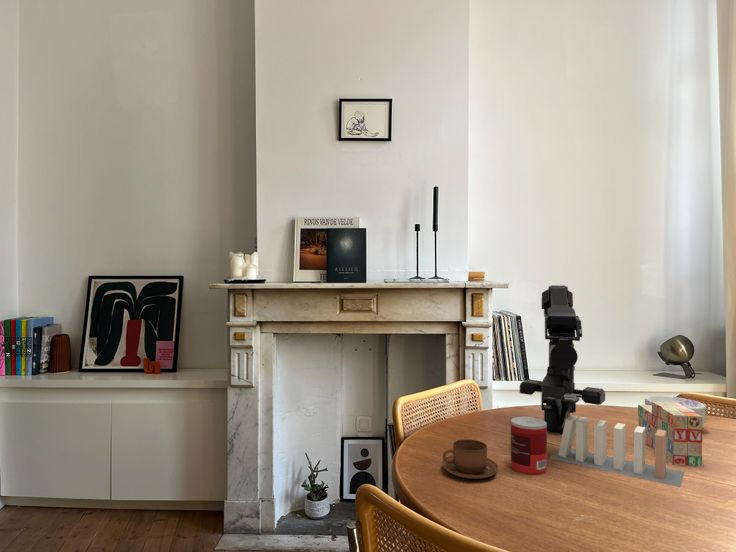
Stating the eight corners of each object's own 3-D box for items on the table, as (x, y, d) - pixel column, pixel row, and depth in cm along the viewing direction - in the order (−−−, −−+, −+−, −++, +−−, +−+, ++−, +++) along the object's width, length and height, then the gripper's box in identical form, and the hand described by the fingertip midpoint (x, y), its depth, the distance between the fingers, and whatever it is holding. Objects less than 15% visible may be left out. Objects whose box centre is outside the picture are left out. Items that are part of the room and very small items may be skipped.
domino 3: (594, 464, 111) (594, 424, 111) (599, 457, 115) (599, 419, 115) (601, 465, 110) (602, 426, 110) (606, 459, 114) (606, 421, 114)
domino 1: (558, 455, 115) (565, 419, 115) (563, 449, 119) (571, 414, 119) (565, 457, 115) (572, 421, 114) (570, 452, 119) (578, 417, 118)
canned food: (546, 466, 111) (546, 418, 111) (547, 479, 103) (547, 428, 103) (511, 462, 113) (511, 414, 113) (509, 474, 106) (510, 424, 106)
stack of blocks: (637, 438, 132) (637, 393, 132) (662, 439, 131) (662, 394, 131) (672, 467, 111) (673, 413, 111) (703, 469, 110) (703, 415, 110)
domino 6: (654, 477, 104) (654, 434, 104) (657, 470, 108) (657, 429, 108) (663, 479, 103) (663, 436, 103) (666, 471, 107) (666, 430, 107)
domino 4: (613, 468, 108) (613, 427, 108) (617, 461, 112) (617, 422, 112) (621, 470, 107) (621, 429, 107) (625, 463, 111) (625, 424, 111)
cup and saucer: (465, 488, 99) (465, 458, 99) (431, 468, 110) (431, 440, 110) (509, 477, 105) (509, 449, 105) (473, 459, 115) (473, 433, 115)
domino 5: (633, 472, 106) (633, 431, 106) (637, 465, 110) (637, 426, 110) (642, 474, 105) (642, 432, 105) (645, 467, 109) (645, 427, 109)
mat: (549, 460, 114) (549, 458, 114) (561, 449, 122) (561, 446, 122) (680, 489, 99) (680, 487, 99) (684, 474, 107) (684, 471, 107)
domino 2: (575, 460, 113) (575, 421, 113) (581, 454, 117) (581, 416, 117) (583, 461, 112) (583, 422, 112) (588, 455, 116) (588, 418, 116)
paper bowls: (709, 427, 142) (709, 400, 142) (701, 439, 131) (701, 410, 131) (650, 417, 152) (650, 392, 152) (638, 428, 141) (638, 400, 141)
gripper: (511, 362, 117) (511, 427, 117) (594, 371, 106) (594, 443, 105) (527, 357, 126) (527, 417, 126) (605, 365, 115) (605, 431, 114)
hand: (560, 426), depth 118 cm, fingers closed
